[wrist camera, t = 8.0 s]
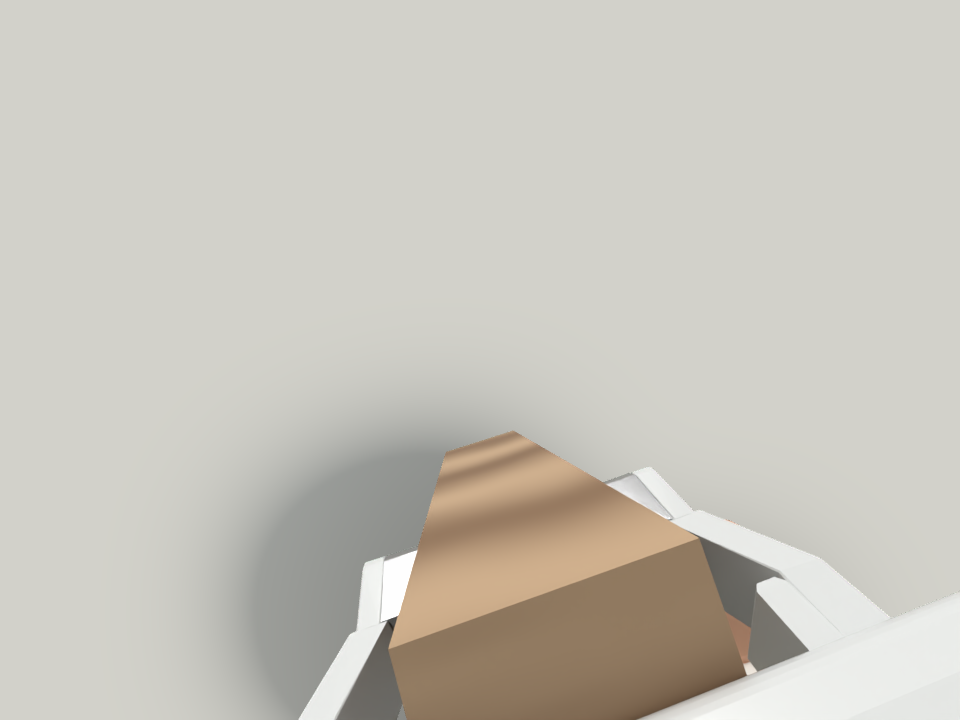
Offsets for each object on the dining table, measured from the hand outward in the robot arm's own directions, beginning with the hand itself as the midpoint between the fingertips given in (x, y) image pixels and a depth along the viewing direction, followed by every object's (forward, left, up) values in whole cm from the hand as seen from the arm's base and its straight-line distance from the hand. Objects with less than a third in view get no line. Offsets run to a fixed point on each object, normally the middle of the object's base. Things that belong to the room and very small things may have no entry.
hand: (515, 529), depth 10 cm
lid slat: (+5, 0, -1) cm, 5 cm away
